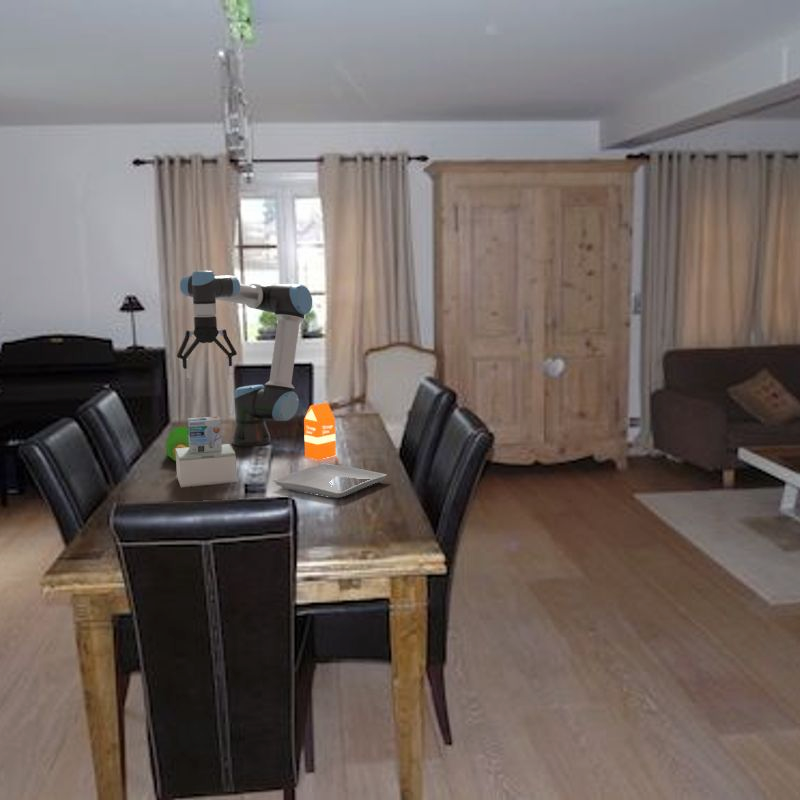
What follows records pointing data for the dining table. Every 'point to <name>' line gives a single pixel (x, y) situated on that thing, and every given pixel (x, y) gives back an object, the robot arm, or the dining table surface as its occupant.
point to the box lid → (204, 453)
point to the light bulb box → (204, 434)
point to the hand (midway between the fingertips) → (208, 376)
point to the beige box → (206, 471)
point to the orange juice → (319, 432)
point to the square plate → (327, 479)
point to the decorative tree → (177, 441)
